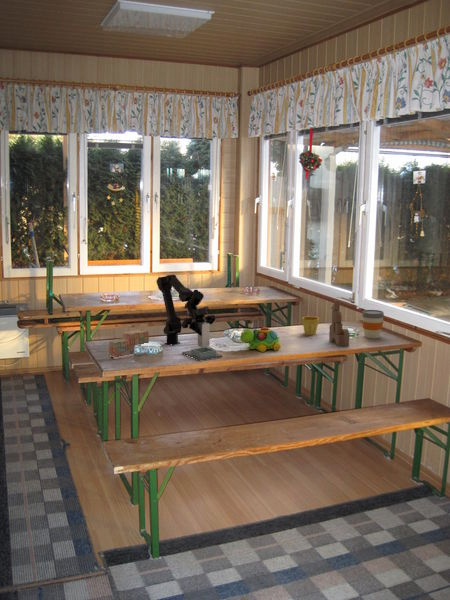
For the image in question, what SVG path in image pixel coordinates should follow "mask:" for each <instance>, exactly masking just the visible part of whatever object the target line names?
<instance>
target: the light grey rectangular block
mask: <svg viewBox="0 0 450 600" xmlns="http://www.w3.org/2000/svg"><path fill="white" fill-rule="evenodd" d="M198 327H199V329H200V331H201V334H202V335H201V336H200V335H199V334H198V333H197V347H198V348H204V347H209V348H210V346H211V345H210V344H211V343H210V342H211V341H210V340H211V339H210V337H211V336H210V333H211V332H210V325H209V323H207V322H200V323H198Z"/></svg>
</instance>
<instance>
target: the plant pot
mask: <svg viewBox="0 0 450 600" xmlns="http://www.w3.org/2000/svg"><path fill="white" fill-rule="evenodd" d="M301 324H302V326H303V332H304V335H306V336H307V335H308V336H314V335H316V333H317V329H318V326H319V324H320V318H319V317H317V316H311V315H309V316H303V317H301Z"/></svg>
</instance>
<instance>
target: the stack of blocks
mask: <svg viewBox="0 0 450 600" xmlns="http://www.w3.org/2000/svg"><path fill="white" fill-rule="evenodd" d="M122 334H123V335H122V336H123V337H121V338H117V339H112V340H109V341H108V351H109V356H110V355H111V356H114V357H119V356H124V355H129V354H133V353H134V346H135V345H137V344H144V343H149V341H150V337H149V330H145V329H134V330H130V331H125V332H122ZM149 344H150V343H149Z"/></svg>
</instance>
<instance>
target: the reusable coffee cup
mask: <svg viewBox="0 0 450 600" xmlns="http://www.w3.org/2000/svg"><path fill="white" fill-rule="evenodd" d="M384 313H385V312H384V311H382V310H378V309H366V310H362V314H361V316H362V329H363V335H364V338H368V339H379V338H380V337H381V333H382V330H383V325H384Z"/></svg>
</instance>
